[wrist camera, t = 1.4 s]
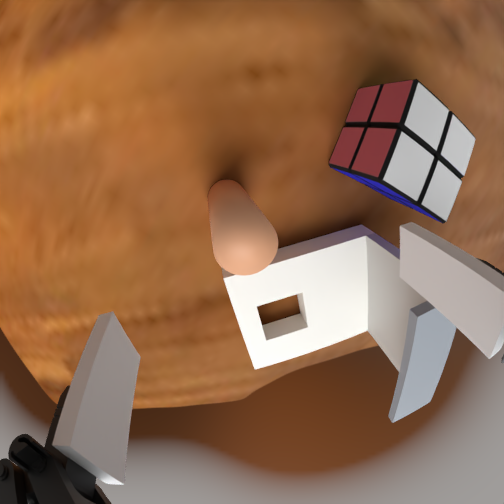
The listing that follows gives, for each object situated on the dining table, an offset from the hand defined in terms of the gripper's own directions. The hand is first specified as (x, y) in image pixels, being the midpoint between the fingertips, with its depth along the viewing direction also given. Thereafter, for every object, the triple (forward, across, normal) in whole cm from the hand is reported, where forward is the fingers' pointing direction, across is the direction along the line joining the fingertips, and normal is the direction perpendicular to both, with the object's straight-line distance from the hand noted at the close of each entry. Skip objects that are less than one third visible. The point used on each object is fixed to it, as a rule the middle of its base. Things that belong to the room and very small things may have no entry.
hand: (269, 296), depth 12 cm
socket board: (+18, +6, -14) cm, 24 cm away
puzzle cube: (+19, +18, +2) cm, 26 cm away
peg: (+18, 0, 0) cm, 18 cm away
